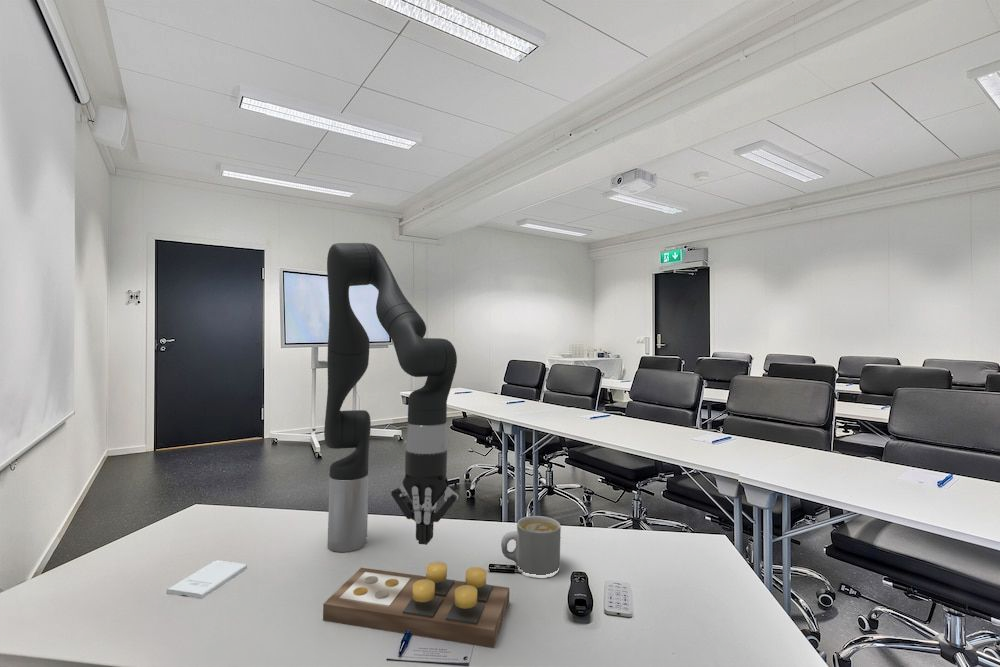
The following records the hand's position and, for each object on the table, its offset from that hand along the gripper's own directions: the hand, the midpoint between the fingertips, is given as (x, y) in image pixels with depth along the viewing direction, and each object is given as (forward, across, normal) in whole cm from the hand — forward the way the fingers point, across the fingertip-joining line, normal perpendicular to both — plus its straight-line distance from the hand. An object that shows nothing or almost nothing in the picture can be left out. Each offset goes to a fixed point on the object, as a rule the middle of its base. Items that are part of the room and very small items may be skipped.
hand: (424, 542), depth 86 cm
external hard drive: (+15, +49, -3) cm, 51 cm away
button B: (+10, 0, 0) cm, 10 cm away
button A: (+10, 0, -7) cm, 12 cm away
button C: (+10, -8, -7) cm, 15 cm away
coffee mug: (+15, -16, -26) cm, 34 cm away
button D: (+10, -8, 0) cm, 13 cm away
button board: (+15, +2, -4) cm, 15 cm away
